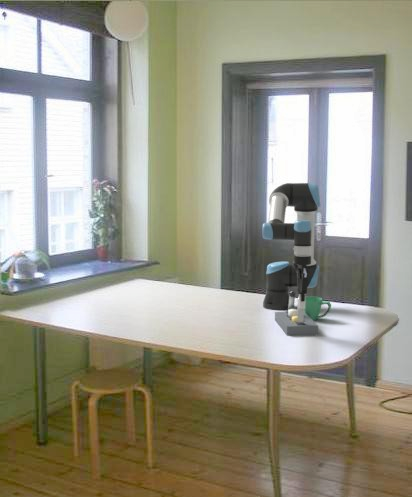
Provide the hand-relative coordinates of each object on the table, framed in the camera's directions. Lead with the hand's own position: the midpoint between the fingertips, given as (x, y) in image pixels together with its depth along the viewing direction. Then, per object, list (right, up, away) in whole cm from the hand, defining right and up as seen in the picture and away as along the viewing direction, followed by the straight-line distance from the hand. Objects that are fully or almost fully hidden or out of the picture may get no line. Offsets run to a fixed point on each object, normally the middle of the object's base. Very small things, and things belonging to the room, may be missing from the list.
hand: (302, 308), depth 319 cm
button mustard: (-1, -8, +10) cm, 13 cm away
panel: (-1, -10, +14) cm, 17 cm away
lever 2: (0, -6, +3) cm, 7 cm away
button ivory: (-2, -5, +17) cm, 18 cm away
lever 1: (-2, -3, +24) cm, 24 cm away
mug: (+11, -8, +28) cm, 31 cm away
